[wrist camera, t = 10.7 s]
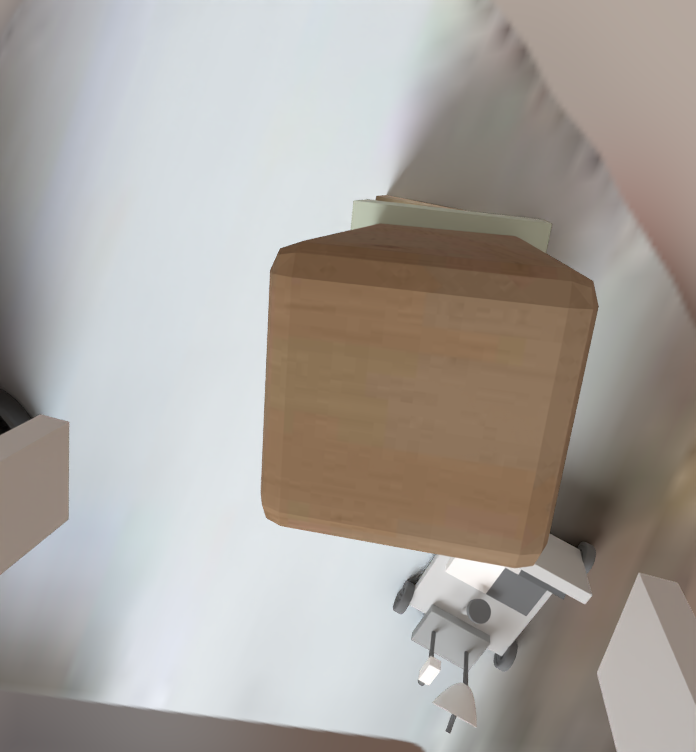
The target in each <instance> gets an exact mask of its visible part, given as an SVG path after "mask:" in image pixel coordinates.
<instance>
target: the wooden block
mask: <svg viewBox="0 0 696 752" xmlns="http://www.w3.org/2000/svg"><path fill="white" fill-rule="evenodd" d="M598 307H599V306H598V302H597V297H596V292H595V287H594V283H593V281H592V280H590V279H589V278H587V277H585V276H584V275H582V274H580V273H578V272H577V271H575V270H573V269H572V268H570V267H568V266H567V265H565V264H563V263H561V262H560V261H558V260H556V259H555V258H553V257H551V256H550V255H548V254H546V253H545V252H543V251H541V250H539V249H538V248H536V247H534V246H533V245H531V244H529V243H528V242H526V241H524V240H522V239H520V238H518V237H517V236H509V235H499V234H488V233H477V232H467V231H456V230H446V229H435V228H424V227H414V226H403V225H393V224H382V223H380V224H375V225H371V226H367V227H362V228H358V229H354V230H349V231H345V232H340V233H336V234H332V235H327V236H323V237H319V238H314V239H310V240H306V241H302V242H299V243H296V244H292V245H289V246H286V247H283V248H280V250H279V252H278V254H277V256H276V259H275V261H274V263H273V265H272V267H271V270H270V287H269V310H268V334H267V358H266V381H265V405H264V428H263V452H262V475H261V500H262V506H263V509H264V512H265V516H266V518H267V519H269V520H271V521H273V522H275V523H276V524H278V525H280V526H284V527H290V528H295V529H301V530H306V531H312V532H317V533H323V534H328V535H334V536H339V537H345V538H350V539H356V540H361V541H367V542H372V543H378V544H383V545H389V546H394V547H400V548H405V549H411V550H416V551H422V552H427V553H433V554H438V555H444V556H449V557H455V558H460V559H466V560H471V561H477V562H482V563H488V564H493V565H499V566H504V567H510V568H522V567H529V566H534V564H535V562H536V561H537V559H538V558H539V556H540V555H541V553H542V551H543V550H544V548H545V547H546V545H547V543H548V538H549V534H550V529H551V524H552V520H553V515H554V511H555V506H556V501H557V497H558V492H559V487H560V483H561V478H562V473H563V469H564V464H565V460H566V455H567V450H568V446H569V441H570V436H571V432H572V427H573V423H574V418H575V413H576V409H577V404H578V399H579V395H580V390H581V385H582V381H583V376H584V372H585V367H586V362H587V358H588V353H589V348H590V344H591V339H592V334H593V330H594V325H595V321H596V316H597V311H598Z"/></svg>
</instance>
